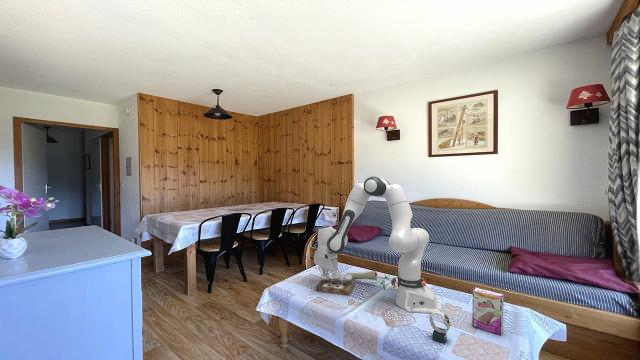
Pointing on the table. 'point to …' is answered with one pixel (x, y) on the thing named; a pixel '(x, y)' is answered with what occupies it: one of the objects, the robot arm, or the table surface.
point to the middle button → (336, 275)
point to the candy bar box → (488, 311)
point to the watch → (440, 333)
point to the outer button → (325, 277)
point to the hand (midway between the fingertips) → (325, 275)
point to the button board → (336, 286)
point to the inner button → (347, 277)
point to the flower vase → (372, 277)
